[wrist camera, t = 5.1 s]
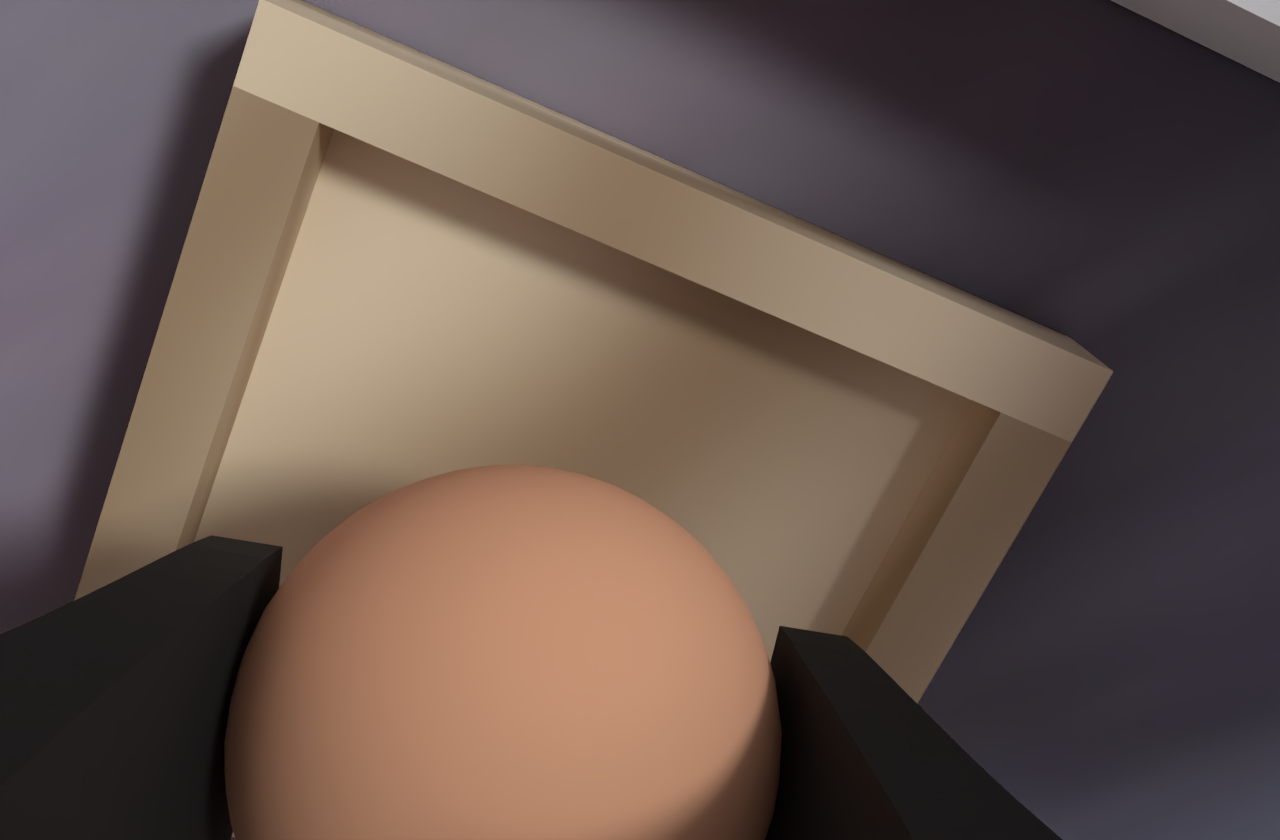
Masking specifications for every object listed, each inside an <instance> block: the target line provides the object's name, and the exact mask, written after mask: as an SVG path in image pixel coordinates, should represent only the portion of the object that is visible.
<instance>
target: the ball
mask: <svg viewBox="0 0 1280 840" xmlns="http://www.w3.org/2000/svg"><path fill="white" fill-rule="evenodd" d="M781 738H782V730H781V722H780V714H779V706H778V698H777V691H776V683H775V678H774V675H773V671H772V668H771V665H770V661H769V658H768V654H767V651H766V648H765V645H764V643H763V640H762V638H761V635H760V632H759V630H758V628H757V626H756V624H755V622H754V619H753V617H752V615H751V613H750V611H749V608H748V606H747V605H746V603H745V601H744V600H743V598H742V597H741V595H740V594H739V592H738V591H737V589H736V588H735V586H734V584H733V583H732V581H731V580H730V578H729V577H728V576H727V574H726V573H725V572H724V570H723V569H722V567H721V566H720V565H719V564H718V563H717V562H716V560H715V559H714V558H713V557H712V556H711V555H710V553H709V552H708V551H707V550H706V549H705V548H704V547H703V545H702V544H701V543H700V542H699V541H698V540H696V539H695V538H694V537H693V536H692V535H691V534H690V533H688V532H687V531H686V530H685V529H684V528H683V527H682V526H680V525H679V524H678V523H677V522H676V521H674V520H673V519H671V518H670V517H668V516H667V515H665V514H664V513H662V512H661V511H659V510H658V509H656V508H655V507H653V506H652V505H650V504H649V503H647V502H646V501H644V500H643V499H641V498H639V497H637V496H635V495H633V494H631V493H629V492H627V491H625V490H623V489H621V488H619V487H617V486H615V485H612V484H609V483H607V482H604V481H601V480H598V479H595V478H592V477H589V476H587V475H584V474H579V473H575V472H570V471H565V470H561V469H556V468H551V467H540V466H529V465H488V466H481V467H474V468H468V469H461V470H455V471H451V472H448V473H444V474H441V475H437V476H433V477H430V478H426V479H423V480H420V481H417V482H415V483H412V484H410V485H408V486H405V487H403V488H400V489H398V490H396V491H393V492H391V493H389V494H386V495H384V496H382V497H381V498H379V499H377V500H376V501H374V502H372V503H370V504H369V505H367V506H365V507H364V508H362V509H360V510H359V511H357V512H355V513H354V514H353V515H352V516H350V517H349V518H348V519H346V520H345V521H344V522H343V523H341V524H340V525H339V526H338V527H336V528H335V529H334V530H332V531H331V532H330V533H329V534H328V535H326V536H325V537H324V538H323V539H321V540H320V541H319V542H318V543H317V544H316V545H315V546H314V547H313V548H312V549H311V550H310V551H309V552H308V553H307V554H306V555H305V556H304V557H303V559H302V560H301V561H300V562H299V563H298V564H297V565H296V566H295V567H294V569H293V570H292V571H291V573H290V574H289V576H288V577H287V578H286V580H285V581H284V583H283V584H282V585H281V587H280V588H279V590H278V591H277V592H276V594H275V595H274V597H273V598H272V599H271V601H270V602H269V604H268V605H267V607H266V608H265V610H264V612H263V614H262V616H261V618H260V620H259V622H258V624H257V625H256V627H255V629H254V631H253V633H252V636H251V638H250V640H249V643H248V645H247V647H246V650H245V652H244V655H243V657H242V661H241V664H240V667H239V670H238V674H237V678H236V682H235V685H234V689H233V693H232V696H231V702H230V708H229V715H228V721H227V728H226V734H225V740H224V772H225V785H226V797H227V803H228V809H229V815H230V821H231V826H232V829H233V832H234V835H235V838H236V840H765V838H766V835H767V832H768V829H769V826H770V823H771V820H772V817H773V814H774V808H775V803H776V797H777V792H778V786H779V776H780V757H781Z"/></svg>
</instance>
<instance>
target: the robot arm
mask: <svg viewBox="0 0 1280 840" xmlns="http://www.w3.org/2000/svg"><path fill="white" fill-rule="evenodd" d="M282 550H283V547H282V546H275V545H269V544H263V543H257V542H250V541H244V540H238V539H232V538H225V537H219V536H213V535H211V536H208V537H206V538H203V539H200V540H198V541H195V542H193V543H191V544H189V545H187V546H184V547H182V548H180V549H178V550H176V551H174V552H172V553H170V554H168V555H166V556H164V557H162V558H160V559H158V560H156V561H154V562H152V563H150V564H148V565H146V566H144V567H142V568H140V569H138V570H136V571H134V572H132V573H130V574H128V575H126V576H124V577H122V578H120V579H118V580H116V581H114V582H112V583H110V584H108V585H105V586H103V587H101V588H99V589H97V590H95V591H93V592H91V593H89V594H87V595H85V596H83V597H81V598H79V599H77V600H75V601H73V602H71V603H69V604H66V605H64V606H62V607H60V608H58V609H56V610H54V611H52V612H50V613H48V614H46V615H44V616H42V617H40V618H37V619H35V620H33V621H31V622H28V623H26V624H24V625H21V626H19V627H17V628H14V629H12V630H10V631H8V632H5V633H3V634H1V635H0V840H230V839H231V836H232V834H233V829H232V826H231V821H230V815H229V809H228V803H227V797H226V785H225V772H224V740H225V734H226V728H227V721H228V715H229V708H230V702H231V696H232V693H233V689H234V685H235V682H236V678H237V674H238V670H239V667H240V664H241V661H242V657H243V655H244V652H245V650H246V647H247V645H248V643H249V640H250V638H251V636H252V633H253V631H254V629H255V627H256V625H257V624H258V622H259V620H260V618H261V616H262V614H263V612H264V610H265V608H266V607H267V605H268V604H269V602H270V601H271V599H272V598H273V597H274V595H275V594H276V592H277V591H278V590H279V583H280V572H281V561H282ZM770 665H771V668H772V671H773V675H774V678H775V683H776V691H777V698H778V706H779V714H780V722H781V730H782V738H781V757H780V776H779V786H778V792H777V797H776V803H775V808H774V814H773V817H772V820H771V823H770V826H769V829H768V832H767V835H766V838H765V840H1062V839H1061V838H1060V837H1059V836H1057V835H1056V834H1055V833H1054V832H1053V831H1052V830H1051V829H1049V828H1048V827H1047V826H1046V825H1045V824H1044V823H1043V822H1041V821H1040V820H1039V819H1038V818H1037V817H1036V816H1034V815H1033V814H1032V813H1031V812H1030V811H1029V810H1028V809H1026V808H1025V807H1024V806H1023V805H1022V804H1021V803H1020V802H1018V801H1017V800H1016V799H1015V798H1014V797H1013V796H1012V795H1011V794H1010V793H1009V792H1007V791H1006V790H1005V789H1004V788H1003V787H1002V786H1001V785H1000V784H999V783H998V782H997V781H996V780H995V779H993V778H992V777H991V776H990V775H989V774H988V773H987V772H986V771H985V770H984V769H983V768H982V767H981V766H980V765H979V764H978V763H977V762H975V761H974V760H973V759H972V758H971V757H970V756H969V755H968V754H967V753H966V752H965V751H964V750H963V749H962V748H961V747H960V746H959V745H958V744H957V743H956V742H955V741H954V740H953V739H952V738H951V737H950V736H949V735H948V734H947V733H946V732H945V731H944V730H943V729H942V728H941V727H940V726H939V725H938V724H937V723H936V722H935V721H934V720H933V719H932V718H931V717H930V716H929V715H928V714H927V713H926V712H925V711H924V710H923V709H922V708H921V707H920V706H919V705H918V704H917V703H916V702H915V701H914V700H913V699H912V698H911V697H910V696H909V695H908V694H907V693H906V692H905V691H904V690H903V689H902V688H901V687H900V686H899V685H898V684H897V683H896V682H895V681H894V680H893V679H892V678H891V677H890V676H889V675H888V674H887V673H886V672H885V671H884V670H883V669H882V668H881V667H880V666H879V665H878V664H877V663H876V662H875V661H874V660H873V659H872V658H871V657H870V656H869V655H868V654H867V653H866V652H865V651H864V650H863V649H861V648H860V647H859V646H858V645H857V644H856V643H855V642H853V641H852V640H851V639H850V638H849V637H847V636H841V635H835V634H828V633H822V632H816V631H810V630H803V629H797V628H791V627H784V626H779V630H778V634H777V638H776V642H775V646H774V650H773V654H772V658H771V662H770Z"/></svg>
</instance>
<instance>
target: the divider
mask: <svg viewBox="0 0 1280 840" xmlns="http://www.w3.org/2000/svg"><path fill="white" fill-rule="evenodd" d="M1111 1H1113V2H1115V3H1117V4H1119V5H1121V6H1123V7H1125V8H1127V9H1129V10H1131V11H1133V12H1136V13H1138V14H1140V15H1142V16H1144V17H1146V18H1148V19H1150V20H1152V21H1154V22H1156V23H1158V24H1160V25H1162V26H1164V27H1166V28H1168V29H1170V30H1172V31H1174V32H1177V33H1179V34H1181V35H1183V36H1185V37H1187V38H1189V39H1191V40H1193V41H1195V42H1197V43H1199V44H1201V45H1203V46H1205V47H1207V48H1209V49H1211V50H1213V51H1215V52H1218V53H1220V54H1222V55H1224V56H1226V57H1228V58H1230V59H1232V60H1234V61H1236V62H1238V63H1240V64H1242V65H1244V66H1246V67H1248V68H1250V69H1252V70H1254V71H1256V72H1259V73H1261V74H1263V75H1265V76H1267V77H1269V78H1271V79H1273V80H1275V81H1277V82H1279V83H1280V0H1111Z"/></svg>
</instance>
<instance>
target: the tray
mask: <svg viewBox="0 0 1280 840" xmlns="http://www.w3.org/2000/svg"><path fill="white" fill-rule="evenodd" d="M1112 374H1113V371H1112V370H1111V369H1110V368H1108V367H1107V366H1106V365H1105V364H1103V363H1102V362H1101V361H1100V360H1098V359H1097V358H1096V357H1094V356H1093V355H1092V354H1091V353H1089V352H1088V351H1087V350H1086V349H1084V348H1083V347H1082V346H1081V345H1079V344H1078V343H1077V342H1075V341H1074V340H1073V339H1072V338H1070V337H1068V336H1066V335H1063V334H1061V333H1059V332H1056V331H1054V330H1052V329H1050V328H1047V327H1045V326H1043V325H1040V324H1038V323H1036V322H1034V321H1031V320H1029V319H1027V318H1025V317H1022V316H1020V315H1018V314H1015V313H1013V312H1011V311H1009V310H1006V309H1004V308H1002V307H1000V306H997V305H995V304H993V303H990V302H988V301H986V300H984V299H981V298H979V297H977V296H974V295H972V294H970V293H968V292H965V291H963V290H961V289H959V288H956V287H954V286H952V285H949V284H947V283H945V282H943V281H940V280H938V279H936V278H934V277H931V276H929V275H927V274H924V273H922V272H920V271H918V270H915V269H913V268H911V267H909V266H906V265H904V264H902V263H899V262H897V261H895V260H893V259H890V258H888V257H886V256H883V255H881V254H879V253H877V252H874V251H872V250H870V249H868V248H865V247H863V246H861V245H858V244H856V243H854V242H852V241H849V240H847V239H845V238H843V237H840V236H838V235H836V234H833V233H831V232H829V231H827V230H824V229H822V228H820V227H817V226H815V225H813V224H811V223H808V222H806V221H804V220H802V219H799V218H797V217H795V216H792V215H790V214H788V213H786V212H783V211H781V210H779V209H777V208H774V207H772V206H770V205H767V204H765V203H763V202H761V201H758V200H756V199H754V198H751V197H749V196H747V195H745V194H742V193H740V192H738V191H736V190H733V189H731V188H729V187H726V186H724V185H722V184H720V183H717V182H715V181H713V180H711V179H708V178H706V177H704V176H701V175H699V174H697V173H695V172H692V171H690V170H688V169H686V168H683V167H681V166H679V165H676V164H674V163H672V162H670V161H667V160H665V159H663V158H660V157H658V156H656V155H654V154H651V153H649V152H647V151H645V150H642V149H640V148H638V147H635V146H633V145H631V144H629V143H626V142H624V141H622V140H620V139H617V138H615V137H613V136H610V135H608V134H606V133H604V132H601V131H599V130H597V129H594V128H592V127H590V126H588V125H585V124H583V123H581V122H579V121H576V120H574V119H572V118H569V117H567V116H565V115H563V114H560V113H558V112H556V111H554V110H551V109H549V108H547V107H544V106H542V105H540V104H538V103H535V102H533V101H531V100H529V99H526V98H524V97H522V96H519V95H517V94H515V93H513V92H510V91H508V90H506V89H503V88H501V87H499V86H497V85H494V84H492V83H490V82H488V81H485V80H483V79H481V78H478V77H476V76H474V75H472V74H469V73H467V72H465V71H463V70H460V69H458V68H456V67H453V66H451V65H449V64H447V63H444V62H442V61H440V60H437V59H435V58H433V57H431V56H428V55H426V54H424V53H422V52H419V51H417V50H415V49H412V48H410V47H408V46H406V45H403V44H401V43H399V42H397V41H394V40H392V39H390V38H387V37H385V36H383V35H381V34H378V33H376V32H374V31H372V30H369V29H367V28H365V27H362V26H360V25H358V24H356V23H353V22H351V21H349V20H346V19H344V18H342V17H340V16H337V15H335V14H333V13H331V12H328V11H326V10H324V9H321V8H319V7H317V6H315V5H312V4H310V3H308V2H306V1H303V0H259V3H258V7H257V10H256V13H255V16H254V20H253V23H252V26H251V29H250V32H249V36H248V39H247V42H246V45H245V49H244V52H243V55H242V58H241V62H240V65H239V68H238V71H237V75H236V78H235V81H234V84H233V88H232V91H231V94H230V97H229V101H228V104H227V107H226V110H225V113H224V117H223V120H222V123H221V126H220V130H219V133H218V136H217V139H216V143H215V146H214V149H213V152H212V156H211V159H210V162H209V165H208V169H207V172H206V175H205V178H204V182H203V185H202V188H201V191H200V194H199V198H198V201H197V204H196V207H195V211H194V214H193V217H192V220H191V224H190V227H189V230H188V233H187V237H186V240H185V243H184V246H183V250H182V253H181V256H180V259H179V263H178V266H177V269H176V272H175V275H174V279H173V282H172V285H171V288H170V292H169V295H168V298H167V301H166V305H165V308H164V311H163V314H162V318H161V321H160V324H159V327H158V331H157V334H156V337H155V340H154V344H153V347H152V350H151V353H150V356H149V360H148V363H147V366H146V369H145V373H144V376H143V379H142V382H141V386H140V389H139V392H138V395H137V399H136V402H135V405H134V408H133V412H132V415H131V418H130V421H129V424H128V428H127V431H126V434H125V437H124V441H123V444H122V447H121V450H120V454H119V457H118V460H117V463H116V467H115V470H114V473H113V476H112V480H111V483H110V486H109V489H108V493H107V496H106V499H105V502H104V505H103V509H102V512H101V515H100V518H99V522H98V525H97V528H96V531H95V535H94V538H93V541H92V544H91V548H90V551H89V554H88V557H87V561H86V564H85V567H84V570H83V574H82V577H81V580H80V583H79V586H78V590H77V593H76V596H75V599H74V601H75V600H77V599H79V598H81V597H83V596H85V595H87V594H89V593H91V592H93V591H95V590H97V589H99V588H101V587H103V586H105V585H108V584H110V583H112V582H114V581H116V580H118V579H120V578H122V577H124V576H126V575H128V574H130V573H132V572H134V571H136V570H138V569H140V568H142V567H144V566H146V565H148V564H150V563H152V562H154V561H156V560H158V559H160V558H162V557H164V556H166V555H168V554H170V553H172V552H174V551H176V550H178V549H180V548H182V547H184V546H187V545H189V544H191V543H193V542H195V541H198V540H200V539H203V538H206V537H208V536H211V535H213V536H219V537H225V538H232V539H238V540H244V541H250V542H257V543H263V544H269V545H275V546H282V547H283V550H282V561H281V572H280V583H279V588H280V587H281V585H282V584H283V583H284V581H285V580H286V578H287V577H288V576H289V574H290V573H291V571H292V570H293V569H294V567H295V566H296V565H297V564H298V563H299V562H300V561H301V560H302V559H303V557H304V556H305V555H306V554H307V553H308V552H309V551H310V550H311V549H312V548H313V547H314V546H315V545H316V544H317V543H318V542H319V541H320V540H321V539H323V538H324V537H325V536H326V535H328V534H329V533H330V532H331V531H332V530H334V529H335V528H336V527H338V526H339V525H340V524H341V523H343V522H344V521H345V520H346V519H348V518H349V517H350V516H352V515H353V514H354V513H355V512H357V511H359V510H360V509H362V508H364V507H365V506H367V505H369V504H370V503H372V502H374V501H376V500H377V499H379V498H381V497H382V496H384V495H386V494H389V493H391V492H393V491H396V490H398V489H400V488H403V487H405V486H408V485H410V484H412V483H415V482H417V481H420V480H423V479H426V478H430V477H433V476H437V475H441V474H444V473H448V472H451V471H455V470H461V469H468V468H474V467H481V466H488V465H529V466H540V467H551V468H556V469H561V470H565V471H570V472H575V473H579V474H584V475H587V476H589V477H592V478H595V479H598V480H601V481H604V482H607V483H609V484H612V485H615V486H617V487H619V488H621V489H623V490H625V491H627V492H629V493H631V494H633V495H635V496H637V497H639V498H641V499H643V500H644V501H646V502H647V503H649V504H650V505H652V506H653V507H655V508H656V509H658V510H659V511H661V512H662V513H664V514H665V515H667V516H668V517H670V518H671V519H673V520H674V521H676V522H677V523H678V524H679V525H680V526H682V527H683V528H684V529H685V530H686V531H687V532H688V533H690V534H691V535H692V536H693V537H694V538H695V539H696V540H698V541H699V542H700V543H701V544H702V545H703V547H704V548H705V549H706V550H707V551H708V552H709V553H710V555H711V556H712V557H713V558H714V559H715V560H716V562H717V563H718V564H719V565H720V566H721V567H722V569H723V570H724V572H725V573H726V574H727V576H728V577H729V578H730V580H731V581H732V583H733V584H734V586H735V588H736V589H737V591H738V592H739V594H740V595H741V597H742V598H743V600H744V601H745V603H746V605H747V606H748V608H749V611H750V613H751V615H752V617H753V619H754V622H755V624H756V626H757V628H758V630H759V632H760V635H761V638H762V640H763V643H764V645H765V648H766V651H767V654H768V658H769V661H770V662H771V658H772V654H773V650H774V646H775V642H776V638H777V634H778V630H779V626H784V627H791V628H797V629H803V630H810V631H816V632H822V633H828V634H835V635H841V636H847V637H849V638H850V639H851V640H852V641H853V642H855V643H856V644H857V645H858V646H859V647H860V648H861V649H863V650H864V651H865V652H866V653H867V654H868V655H869V656H870V657H871V658H872V659H873V660H874V661H875V662H876V663H877V664H878V665H879V666H880V667H881V668H882V669H883V670H884V671H885V672H886V673H887V674H888V675H889V676H890V677H891V678H892V679H893V680H894V681H895V682H896V683H897V684H898V685H899V686H900V687H901V688H902V689H903V690H904V691H905V692H906V693H907V694H908V695H909V696H910V697H911V698H912V699H913V700H914V701H915V702H916V703H917V704H918V702H919V700H920V699H921V697H922V695H923V694H924V692H925V690H926V688H927V687H928V685H929V683H930V682H931V680H932V678H933V677H934V675H935V673H936V672H937V670H938V668H939V666H940V665H941V663H942V661H943V660H944V658H945V656H946V655H947V653H948V651H949V650H950V648H951V646H952V644H953V643H954V641H955V639H956V638H957V636H958V634H959V633H960V631H961V629H962V628H963V626H964V624H965V622H966V621H967V619H968V617H969V616H970V614H971V612H972V611H973V609H974V607H975V606H976V604H977V602H978V600H979V599H980V597H981V595H982V594H983V592H984V590H985V589H986V587H987V585H988V584H989V582H990V580H991V578H992V577H993V575H994V573H995V572H996V570H997V568H998V567H999V565H1000V563H1001V562H1002V560H1003V558H1004V556H1005V555H1006V553H1007V551H1008V550H1009V548H1010V546H1011V545H1012V543H1013V541H1014V540H1015V538H1016V536H1017V534H1018V533H1019V531H1020V529H1021V528H1022V526H1023V524H1024V523H1025V521H1026V519H1027V517H1028V516H1029V514H1030V512H1031V511H1032V509H1033V507H1034V506H1035V504H1036V502H1037V501H1038V499H1039V497H1040V495H1041V494H1042V492H1043V490H1044V489H1045V487H1046V485H1047V484H1048V482H1049V480H1050V479H1051V477H1052V475H1053V473H1054V472H1055V470H1056V468H1057V467H1058V465H1059V463H1060V462H1061V460H1062V458H1063V457H1064V455H1065V453H1066V451H1067V450H1068V448H1069V446H1070V445H1071V443H1072V441H1073V440H1074V438H1075V436H1076V435H1077V433H1078V431H1079V429H1080V428H1081V426H1082V424H1083V423H1084V421H1085V419H1086V418H1087V416H1088V414H1089V413H1090V411H1091V409H1092V407H1093V406H1094V404H1095V402H1096V401H1097V399H1098V397H1099V396H1100V394H1101V392H1102V391H1103V389H1104V387H1105V385H1106V384H1107V382H1108V380H1109V379H1110V377H1111V375H1112ZM231 837H234V838H235V835H234V832H233V834H232V836H231Z"/></svg>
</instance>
